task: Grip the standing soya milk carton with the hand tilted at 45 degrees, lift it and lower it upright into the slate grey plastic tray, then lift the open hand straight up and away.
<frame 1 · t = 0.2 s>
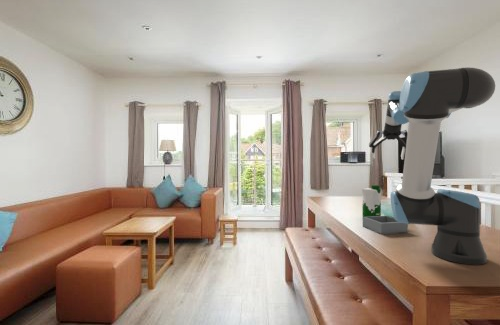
hand: (387, 157, 139), 35 cm above the table, tool tilted 35°, fingers open, 13 cm apart
tray: (384, 229, 125), on the table
soya milk: (371, 220, 144), on the table
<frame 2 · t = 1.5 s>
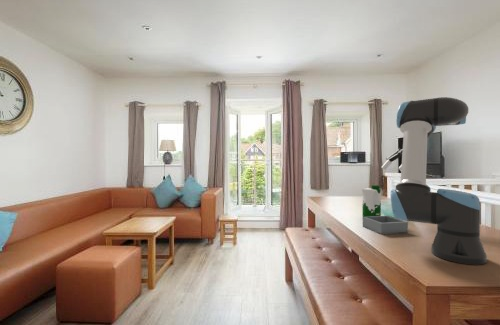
hand: (391, 169, 146), 29 cm above the table, tool tilted 45°, fingers open, 13 cm apart
nothing on the table moved.
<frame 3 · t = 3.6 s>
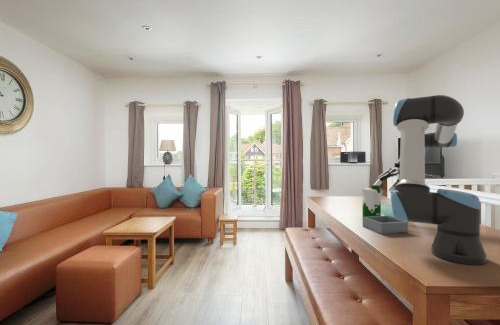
hand: (381, 189, 146), 17 cm above the table, tool tilted 45°, fingers open, 13 cm apart
nothing on the table moved.
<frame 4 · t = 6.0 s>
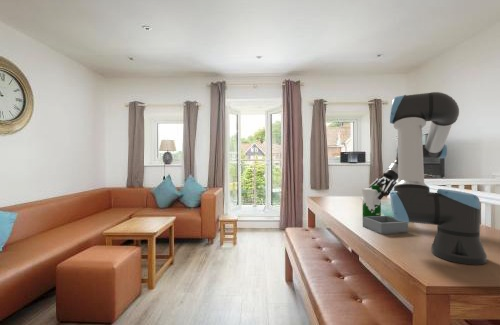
hand: (368, 201, 143), 11 cm above the table, tool tilted 45°, fingers closed on soya milk, 9 cm apart
soya milk: (371, 220, 144), on the table, touching gripper
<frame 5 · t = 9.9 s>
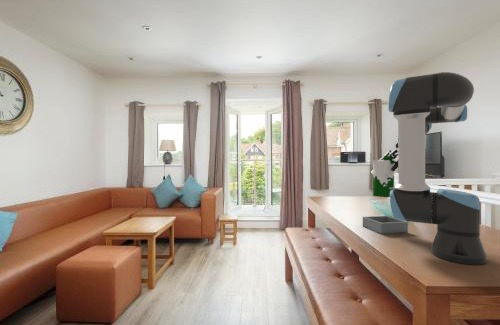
hand: (379, 174, 127), 27 cm above the table, tool tilted 45°, fingers closed on soya milk, 9 cm apart
soya milk: (383, 196, 127), point 16 cm above the table, touching gripper
when the fingers open (12 cm above the table, at t = 13.7 s): soya milk stays where it is, resting on tray.
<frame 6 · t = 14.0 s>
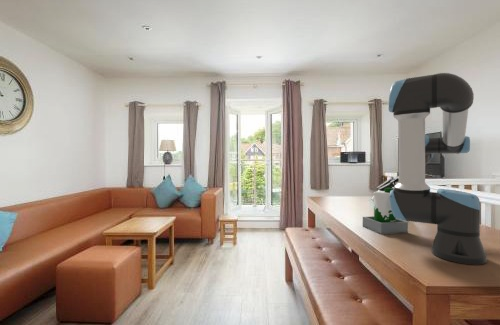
hand: (381, 202, 125), 13 cm above the table, tool tilted 45°, fingers open, 13 cm apart
soya milk: (384, 228, 125), resting on tray
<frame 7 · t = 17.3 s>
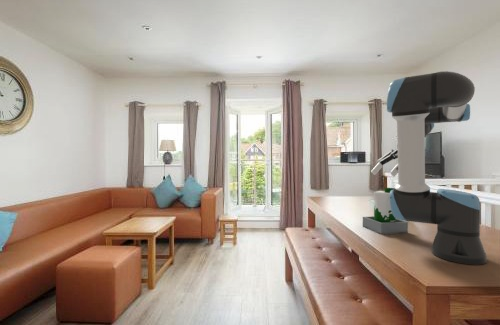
hand: (381, 173, 125), 27 cm above the table, tool tilted 45°, fingers open, 13 cm apart
nothing on the table moved.
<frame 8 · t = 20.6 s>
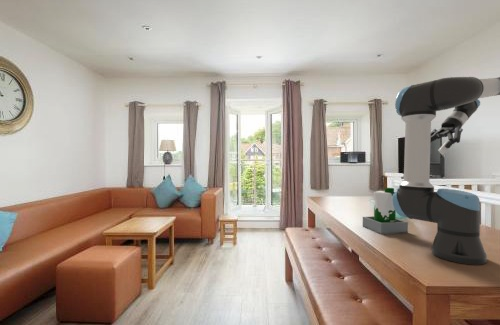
hand: (427, 153, 122), 38 cm above the table, tool tilted 45°, fingers open, 13 cm apart
nothing on the table moved.
at the end: soya milk 0.2 cm off-centre on the tray, point 0.4 cm above the tray's base; soya milk tilted 0°; the gripper is holding nothing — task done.
